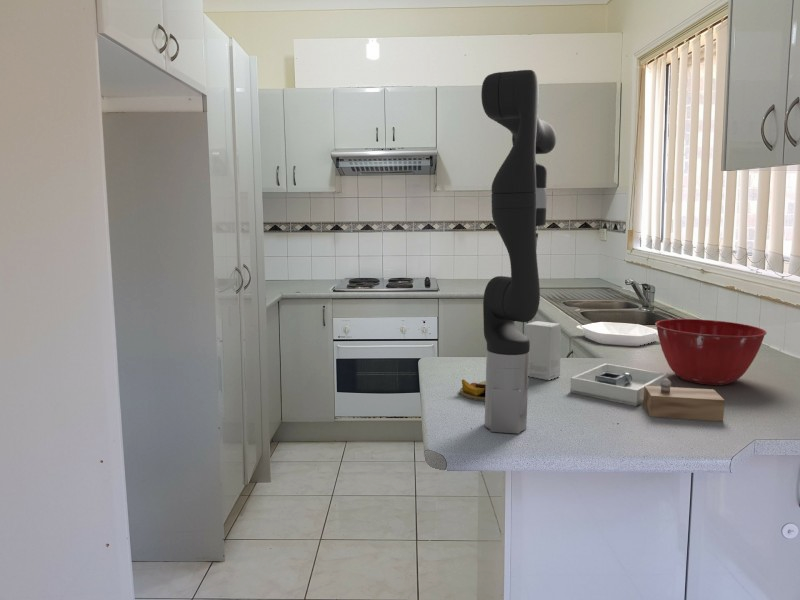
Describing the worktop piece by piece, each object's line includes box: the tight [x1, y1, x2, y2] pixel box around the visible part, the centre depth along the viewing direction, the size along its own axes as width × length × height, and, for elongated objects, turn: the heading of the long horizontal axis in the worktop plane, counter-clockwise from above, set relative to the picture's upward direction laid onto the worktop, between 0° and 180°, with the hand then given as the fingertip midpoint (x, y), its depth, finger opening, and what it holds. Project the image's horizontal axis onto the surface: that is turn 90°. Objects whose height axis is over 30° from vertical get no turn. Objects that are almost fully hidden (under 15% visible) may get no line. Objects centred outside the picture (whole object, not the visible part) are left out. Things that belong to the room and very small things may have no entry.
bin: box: [569, 362, 669, 407], centre depth 175 cm, size 22×18×4 cm
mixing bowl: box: [655, 318, 767, 386], centre depth 187 cm, size 28×28×16 cm
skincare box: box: [524, 320, 562, 381], centre depth 188 cm, size 8×7×16 cm
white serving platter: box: [576, 321, 658, 347], centre depth 243 cm, size 31×25×4 cm
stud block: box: [642, 379, 726, 422], centre depth 156 cm, size 9×16×8 cm, turn 79°
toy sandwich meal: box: [459, 379, 486, 402], centre depth 170 cm, size 12×14×5 cm
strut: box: [595, 372, 632, 387], centre depth 175 cm, size 6×16×4 cm, turn 139°
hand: (528, 270), depth 168 cm, fingers open, 8 cm apart
